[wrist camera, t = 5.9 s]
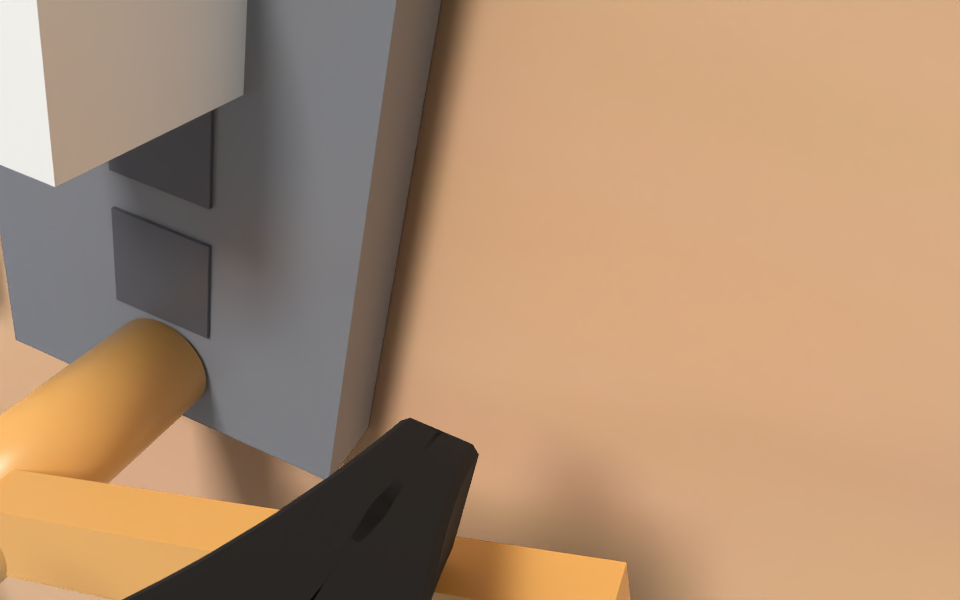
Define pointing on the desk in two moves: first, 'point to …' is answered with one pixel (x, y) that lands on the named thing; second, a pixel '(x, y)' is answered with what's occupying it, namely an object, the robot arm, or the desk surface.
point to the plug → (110, 76)
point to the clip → (172, 517)
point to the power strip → (249, 228)
